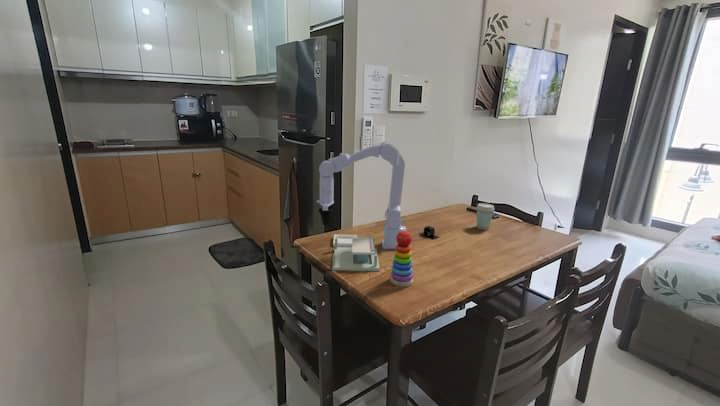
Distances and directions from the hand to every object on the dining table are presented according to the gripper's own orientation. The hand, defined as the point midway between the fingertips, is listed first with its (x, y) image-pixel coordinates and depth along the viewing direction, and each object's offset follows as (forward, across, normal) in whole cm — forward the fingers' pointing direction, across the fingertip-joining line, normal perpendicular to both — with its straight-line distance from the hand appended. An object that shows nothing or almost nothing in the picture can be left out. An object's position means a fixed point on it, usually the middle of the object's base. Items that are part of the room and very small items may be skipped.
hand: (326, 221), depth 142 cm
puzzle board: (+10, +15, +12) cm, 22 cm away
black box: (+11, -13, +47) cm, 50 cm away
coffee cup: (+10, -25, +77) cm, 82 cm away
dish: (+10, -2, +8) cm, 13 cm away
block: (+10, +15, +15) cm, 23 cm away
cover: (+4, +15, +15) cm, 22 cm away
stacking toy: (+10, +31, +28) cm, 43 cm away
